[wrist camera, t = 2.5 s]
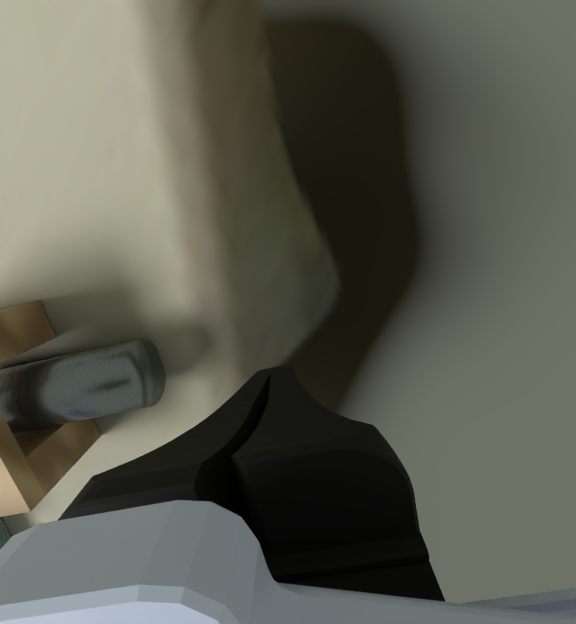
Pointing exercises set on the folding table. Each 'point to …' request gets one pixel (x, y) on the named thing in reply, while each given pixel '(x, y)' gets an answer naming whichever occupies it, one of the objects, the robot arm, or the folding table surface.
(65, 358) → the axle
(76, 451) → the beam
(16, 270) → the folding table surface
